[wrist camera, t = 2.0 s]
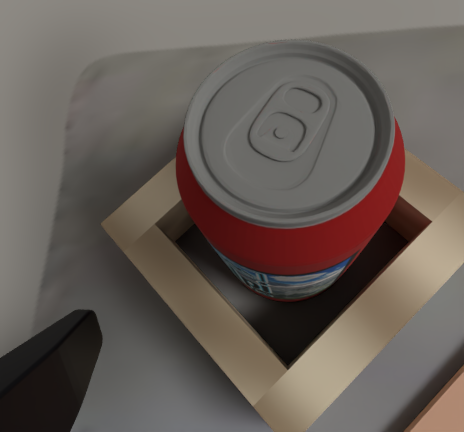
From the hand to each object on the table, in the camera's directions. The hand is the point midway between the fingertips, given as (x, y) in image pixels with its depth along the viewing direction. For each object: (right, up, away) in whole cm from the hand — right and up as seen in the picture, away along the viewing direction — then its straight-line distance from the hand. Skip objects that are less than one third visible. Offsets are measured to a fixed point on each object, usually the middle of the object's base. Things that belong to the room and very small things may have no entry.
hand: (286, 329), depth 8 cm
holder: (+2, +1, +12) cm, 13 cm away
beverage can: (+2, +1, +13) cm, 13 cm away
